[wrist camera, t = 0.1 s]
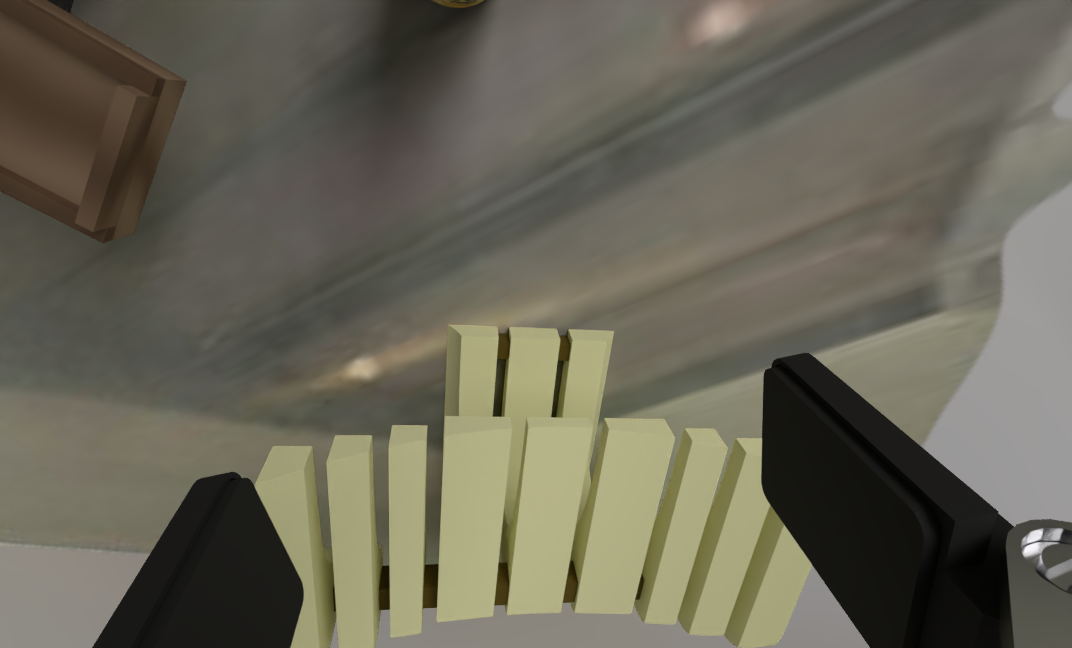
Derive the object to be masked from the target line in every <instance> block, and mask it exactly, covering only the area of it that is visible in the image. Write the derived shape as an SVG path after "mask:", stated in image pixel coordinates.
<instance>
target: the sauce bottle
mask: <svg viewBox="0 0 1072 648" xmlns="http://www.w3.org/2000/svg"><path fill="white" fill-rule="evenodd" d="M432 1H434V2H436V3H438V4H440V5H443V6H446V7H452V8H465V7H470V6H474V5H477V4H479V3H481V2H482V1H484V0H432Z"/></svg>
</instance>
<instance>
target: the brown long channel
mask: <svg viewBox="0 0 1072 648" xmlns="http://www.w3.org/2000/svg"><path fill="white" fill-rule="evenodd" d="M186 82H187V81H186V80H184V79H182V78H181V77H179V76H177V75H176V74H174V73H172V72H170V71H169V70H167V69H165V68H163V67H162V66H160V65H158V64H156V63H155V62H153V61H151V60H150V59H148V58H146V57H144V56H143V55H141V54H139V53H137V52H136V51H134V50H132V49H130V48H129V47H127V46H125V45H124V44H122V43H120V42H118V41H117V40H115V39H113V38H111V37H110V36H108V35H106V34H104V33H103V32H101V31H99V30H98V29H96V28H94V27H92V26H91V25H89V24H87V23H85V22H84V21H82V20H80V19H78V18H77V17H75V16H73V15H72V14H70V13H68V12H66V11H65V10H63V9H61V8H59V7H58V6H56V5H54V4H52V3H51V2H49V1H47V0H0V191H1V192H3V193H5V194H7V195H9V196H11V197H13V198H15V199H17V200H19V201H21V202H23V203H25V204H27V205H29V206H31V207H33V208H35V209H37V210H39V211H41V212H43V213H45V214H47V215H49V216H51V217H52V218H54V219H56V220H58V221H60V222H62V223H64V224H66V225H68V226H70V227H72V228H74V229H76V230H78V231H80V232H82V233H84V234H86V235H88V236H90V237H92V238H94V239H96V240H98V241H100V242H102V243H105V242H108V241H111V240H114V239H118V238H121V237H124V236H127V235H130V234H134V231H135V228H136V226H137V223H138V220H139V217H140V214H141V211H142V208H143V205H144V203H145V200H146V197H147V194H148V191H149V188H150V185H151V182H152V180H153V177H154V174H155V171H156V168H157V165H158V162H159V159H160V156H161V154H162V151H163V148H164V145H165V142H166V139H167V136H168V133H169V131H170V128H171V125H172V122H173V119H174V116H175V113H176V110H177V108H178V105H179V102H180V99H181V96H182V93H183V90H184V87H185V85H186Z"/></svg>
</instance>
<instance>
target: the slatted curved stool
mask: <svg viewBox="0 0 1072 648" xmlns="http://www.w3.org/2000/svg"><path fill="white" fill-rule="evenodd" d="M613 334H614V331H599V330H573V329H568V335H567V336H559V334H558V331H557V329H547V328H521V327H509V334H498V329H497V327H495V326H469V325H448V339H447V364H446V388H445V413H444V438H443V474H442V498H441V519H440V543H439V564H433V565H425V558H426V532H425V504H426V459H427V426H423V425H392V430H391V436H390V441H389V557H390V566H382V545H378V544H377V535H376V522H375V503H374V477H373V443H372V435H335V438H334V441H333V444H332V447H331V450H330V453H329V456H328V459H327V462H326V464H327V480H328V495H329V510H330V525H331V540H332V548H328V547H323V541H322V535H321V528H320V520H319V512H318V503H317V493H316V483H315V472H314V460H313V448H312V446H273V447H272V449H271V451H270V453H269V455H268V457H267V460H266V462H265V464H264V466H263V468H262V470H261V472H260V474H259V476H258V479H257V481H256V483H255V489H256V491H257V493H258V495H259V497H260V499H261V501H262V503H263V505H264V507H265V509H266V511H267V513H268V515H269V517H270V519H271V521H272V523H273V525H274V527H275V529H276V531H277V533H278V535H279V537H280V539H281V541H282V543H283V545H284V547H285V549H286V551H287V553H288V555H289V557H290V559H291V561H292V563H293V565H294V567H295V569H296V571H297V573H298V575H299V577H300V579H301V581H302V584H303V589H304V600H303V605H302V608H301V612H300V615H299V619H298V622H297V626H296V629H295V633H294V637H293V640H292V644H291V647H290V648H330V645H331V641H332V636H333V631H334V627H335V622H336V618H337V629H338V644H339V648H375V645H376V640H377V634H378V628H379V621H380V613H381V610H388V609H390V638H393V637H401V636H408V635H413V634H420V633H421V632H422V618H423V608H437V622H445V621H456V620H465V619H473V618H483V617H492V616H493V612H494V605H505V609H506V614H507V615H515V614H532V613H561V609H562V603H567V602H570V603H571V606H572V609H573V611H574V613H603V614H604V613H605V614H632V610H633V606H634V605H635V608H636V610H637V612H638V614H639V616H640V618H641V620H642V621H643V622H644V623H654V624H676V621H677V618H678V620H679V622H680V624H681V626H682V627H683V628H684V630H685V631H686V632H687V633H688V634H692V635H705V636H719V635H724V636H725V637H726V638H727V639H728V640H729V641H730V642H731V643H732V644H733V645H735V646H737V647H745V648H749V647H768V646H773V645H775V644H777V643H778V642H779V641H780V639H781V638H782V636H783V634H784V632H785V629H786V627H787V625H788V622H789V620H790V617H791V615H792V613H793V610H794V608H795V606H796V603H797V601H798V598H799V596H800V594H801V591H802V589H803V587H804V584H805V582H806V579H807V577H808V575H809V572H810V570H811V568H812V564H811V562H810V561H809V560H808V558H807V557H806V555H805V554H804V552H803V551H802V550H801V548H800V547H799V545H798V544H797V542H796V541H795V540H794V538H793V537H792V535H791V534H790V532H789V531H788V530H787V528H786V527H785V525H784V524H783V522H782V521H781V520H780V518H779V517H778V515H777V514H776V512H775V511H774V510H773V508H772V507H771V505H770V504H769V502H768V501H767V499H766V497H765V495H764V492H763V489H762V484H761V465H762V438H736V440H735V443H734V446H733V449H732V452H731V455H730V458H729V461H728V464H727V467H726V470H725V473H724V476H723V479H722V482H721V485H720V487H719V490H718V493H717V495H716V498H715V501H714V503H713V506H712V508H711V510H710V507H711V504H712V501H713V497H714V494H715V491H716V487H717V484H718V481H719V477H720V474H721V470H722V467H723V464H724V460H725V457H726V454H727V450H728V448H727V446H726V445H725V443H724V442H723V440H722V439H721V437H720V436H719V435H718V433H717V432H716V430H715V429H707V428H685V429H684V433H683V437H682V440H681V444H680V448H679V451H678V455H677V459H676V462H675V466H674V469H673V472H672V476H671V479H670V482H669V485H668V488H667V492H666V495H665V497H664V500H663V503H662V506H661V508H660V511H659V513H658V515H657V518H656V520H655V517H656V513H657V509H658V505H659V501H660V497H661V493H662V489H663V485H664V481H665V477H666V473H667V469H668V465H669V461H670V457H671V453H672V449H673V445H674V441H675V436H674V435H673V433H672V431H671V430H670V428H669V426H668V424H667V423H666V421H665V419H631V418H604V423H603V429H602V434H601V439H600V444H599V449H598V454H597V459H596V464H595V468H594V473H593V477H592V482H591V478H590V467H589V465H590V462H591V458H592V453H593V447H594V442H595V436H596V430H597V425H598V419H599V414H600V408H601V402H602V397H603V391H604V385H605V380H606V374H607V368H608V363H609V357H610V351H611V346H612V340H613ZM497 359H506V368H505V379H504V390H503V401H502V412H501V417H493V404H494V391H495V377H496V365H497ZM558 361H564V363H563V370H562V378H561V385H560V392H559V399H558V406H557V414H556V418H555V417H551V414H552V404H553V395H554V387H555V378H556V370H557V362H558ZM709 511H710V513H709ZM708 514H709V515H708ZM654 521H655V522H654ZM499 553H500V556H501V563H499Z"/></svg>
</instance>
